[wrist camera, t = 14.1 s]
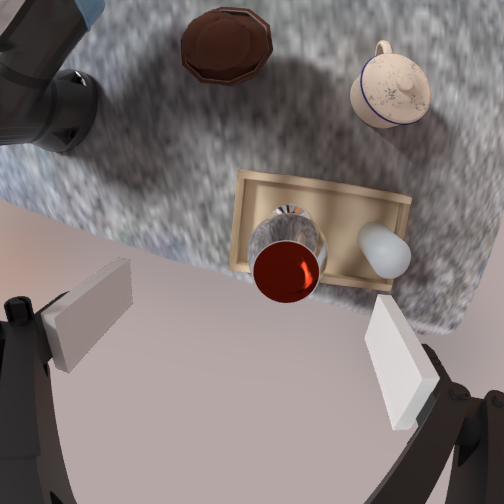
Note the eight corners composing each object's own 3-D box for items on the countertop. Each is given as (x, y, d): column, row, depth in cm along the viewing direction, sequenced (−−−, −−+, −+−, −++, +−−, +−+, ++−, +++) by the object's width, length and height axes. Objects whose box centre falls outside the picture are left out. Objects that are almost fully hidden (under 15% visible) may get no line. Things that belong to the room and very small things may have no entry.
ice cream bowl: (290, 51, 36) (288, 4, 22) (251, 113, 40) (230, 90, 25) (227, 23, 36) (199, -25, 21) (189, 82, 39) (143, 54, 25)
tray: (232, 262, 47) (228, 269, 44) (241, 169, 42) (237, 170, 39) (385, 283, 44) (390, 291, 42) (404, 194, 40) (411, 197, 37)
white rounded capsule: (354, 252, 42) (367, 276, 34) (360, 219, 41) (376, 234, 32) (385, 257, 42) (405, 281, 33) (392, 224, 40) (415, 241, 32)
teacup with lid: (409, 132, 37) (445, 126, 26) (350, 129, 38) (370, 119, 27) (401, 56, 34) (431, 30, 23) (342, 51, 35) (357, 19, 24)
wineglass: (317, 255, 43) (330, 317, 26) (260, 254, 44) (239, 314, 27) (319, 197, 41) (337, 226, 24) (259, 197, 42) (236, 224, 25)
